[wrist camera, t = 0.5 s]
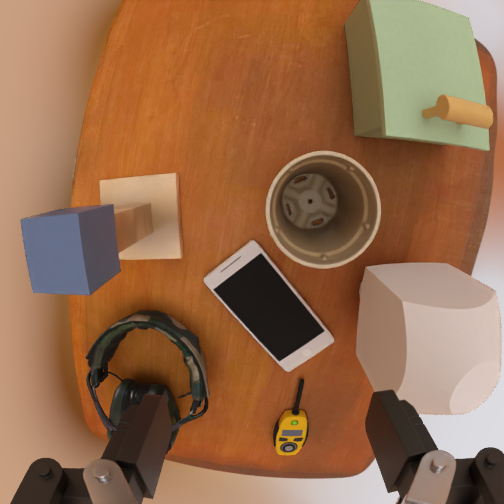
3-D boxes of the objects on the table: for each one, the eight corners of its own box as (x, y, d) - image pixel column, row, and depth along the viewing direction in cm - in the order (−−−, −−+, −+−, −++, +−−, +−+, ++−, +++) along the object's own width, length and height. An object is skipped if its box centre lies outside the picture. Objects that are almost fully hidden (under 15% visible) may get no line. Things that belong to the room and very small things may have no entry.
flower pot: (308, 263, 34) (324, 291, 26) (244, 203, 33) (240, 213, 24) (368, 201, 32) (402, 211, 24) (306, 138, 31) (323, 126, 22)
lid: (484, 151, 23) (520, 150, 17) (382, 136, 23) (411, 129, 18) (464, 20, 19) (492, 2, 14) (364, -8, 20) (383, -37, 14)
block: (60, 209, 21) (20, 219, 16) (113, 203, 21) (78, 212, 16) (68, 271, 22) (32, 292, 17) (121, 271, 22) (89, 295, 17)
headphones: (224, 458, 35) (223, 319, 33) (135, 495, 25) (102, 343, 24) (170, 414, 44) (163, 295, 42) (94, 436, 35) (71, 305, 33)
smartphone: (286, 369, 37) (287, 373, 36) (203, 277, 34) (201, 280, 34) (334, 337, 36) (336, 341, 35) (253, 237, 33) (253, 239, 32)
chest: (443, 145, 30) (483, 142, 23) (353, 136, 31) (381, 126, 23) (431, 41, 27) (464, 20, 19) (344, 24, 27) (364, -8, 20)
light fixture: (341, 326, 36) (402, 451, 16) (347, 250, 34) (440, 338, 14) (410, 320, 36) (497, 420, 16) (419, 248, 33) (537, 317, 14)
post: (103, 180, 32) (40, 186, 20) (178, 172, 32) (137, 173, 20) (111, 257, 34) (55, 293, 23) (183, 255, 34) (149, 296, 22)
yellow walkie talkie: (270, 457, 39) (283, 384, 36) (270, 448, 41) (282, 375, 37) (302, 457, 39) (322, 384, 36) (301, 448, 41) (319, 375, 38)
